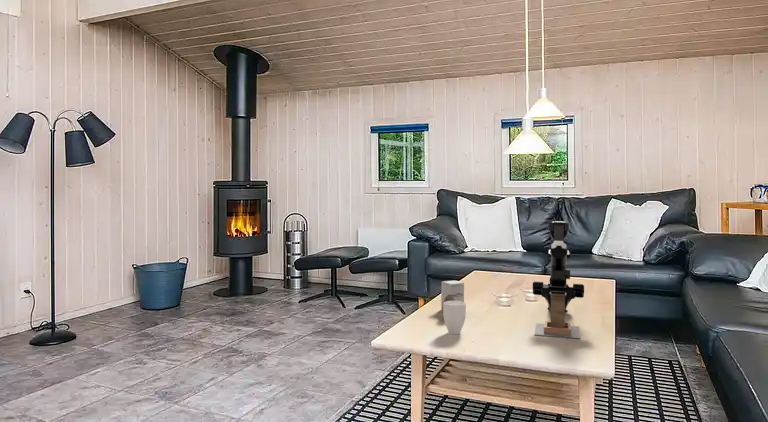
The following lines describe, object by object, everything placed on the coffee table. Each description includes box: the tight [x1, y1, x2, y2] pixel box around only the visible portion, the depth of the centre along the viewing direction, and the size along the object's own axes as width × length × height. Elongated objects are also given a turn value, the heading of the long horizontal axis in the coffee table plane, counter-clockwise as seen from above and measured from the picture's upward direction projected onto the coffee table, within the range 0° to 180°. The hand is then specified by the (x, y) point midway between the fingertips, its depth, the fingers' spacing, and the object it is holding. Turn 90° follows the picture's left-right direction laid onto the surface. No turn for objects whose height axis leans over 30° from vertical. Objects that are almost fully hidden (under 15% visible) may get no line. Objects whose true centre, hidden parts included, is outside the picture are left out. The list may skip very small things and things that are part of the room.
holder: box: [533, 320, 581, 340], centre depth 204 cm, size 16×16×2 cm
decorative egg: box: [441, 294, 455, 312], centre depth 223 cm, size 6×6×10 cm
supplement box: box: [440, 279, 465, 310], centre depth 237 cm, size 7×7×13 cm
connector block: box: [549, 294, 566, 328], centre depth 204 cm, size 5×5×12 cm
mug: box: [442, 301, 467, 335], centre depth 204 cm, size 12×8×11 cm
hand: (557, 308), depth 202 cm, fingers closed on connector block, 5 cm apart
